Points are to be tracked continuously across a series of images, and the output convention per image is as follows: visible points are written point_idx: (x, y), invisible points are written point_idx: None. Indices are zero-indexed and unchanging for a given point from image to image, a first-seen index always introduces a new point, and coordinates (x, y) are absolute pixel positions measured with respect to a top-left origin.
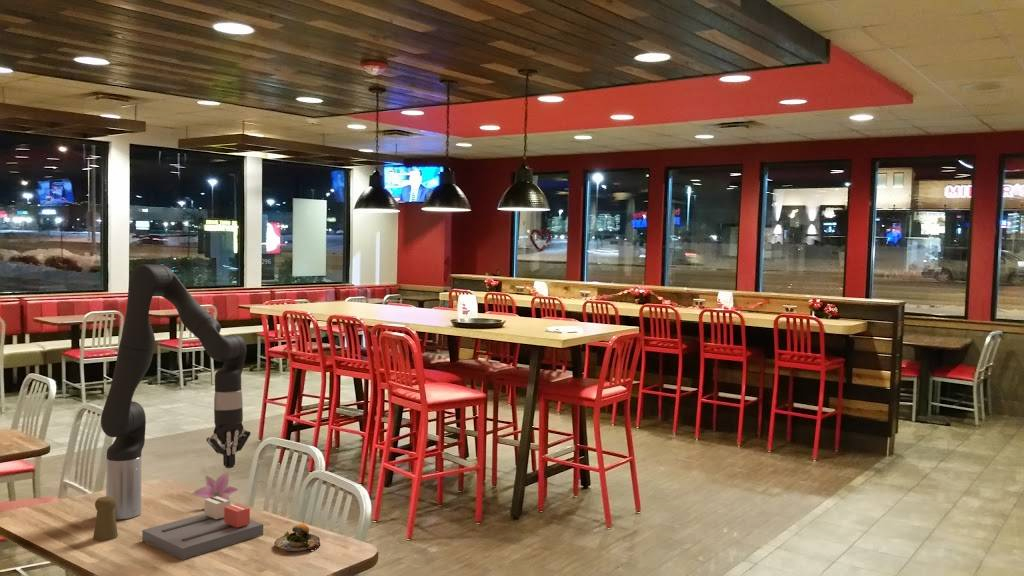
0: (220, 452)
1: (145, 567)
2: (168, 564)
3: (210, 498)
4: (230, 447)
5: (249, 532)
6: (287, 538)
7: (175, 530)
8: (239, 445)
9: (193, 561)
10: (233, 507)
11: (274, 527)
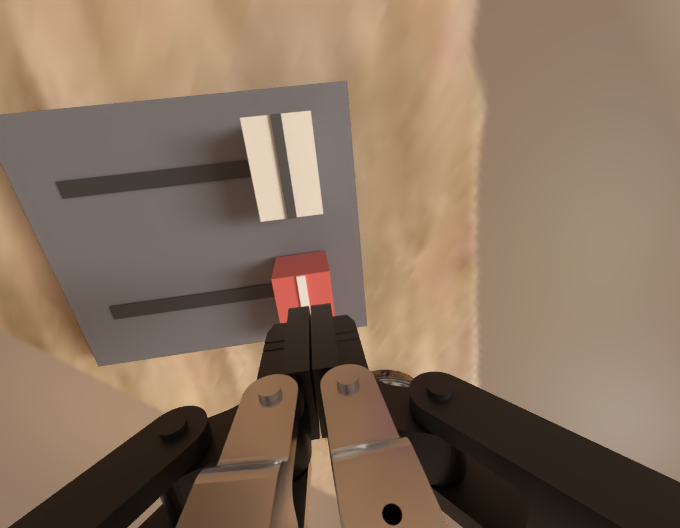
0: (166, 522)
1: (14, 336)
2: (77, 350)
3: (269, 123)
4: (361, 434)
5: None
6: None
7: (108, 210)
8: (453, 514)
9: (142, 366)
10: (296, 304)
11: (414, 278)
